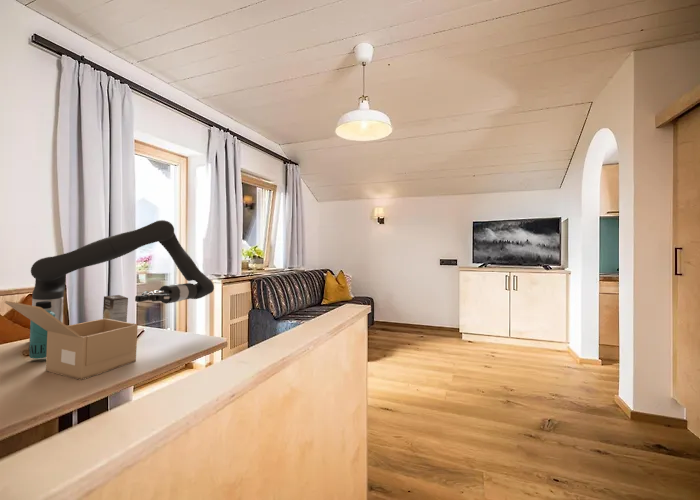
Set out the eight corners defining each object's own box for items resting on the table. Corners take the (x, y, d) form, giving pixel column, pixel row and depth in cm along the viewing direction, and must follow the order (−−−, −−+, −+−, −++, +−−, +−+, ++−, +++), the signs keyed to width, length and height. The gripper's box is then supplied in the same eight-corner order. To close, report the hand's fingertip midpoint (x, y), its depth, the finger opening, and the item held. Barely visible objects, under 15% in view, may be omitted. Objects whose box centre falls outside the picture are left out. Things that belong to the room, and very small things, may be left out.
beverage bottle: (53, 355, 120) (55, 299, 119) (54, 360, 115) (57, 302, 115) (27, 359, 115) (30, 300, 115) (28, 364, 111) (30, 304, 110)
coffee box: (101, 332, 149) (102, 296, 149) (117, 329, 155) (119, 294, 154) (110, 336, 145) (112, 299, 144) (127, 333, 150) (128, 297, 150)
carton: (44, 370, 107) (46, 329, 107) (103, 353, 125) (104, 318, 124) (81, 380, 102) (83, 337, 102) (137, 361, 119) (139, 324, 119)
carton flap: (47, 329, 106) (46, 330, 106) (5, 300, 96) (4, 302, 96) (81, 336, 102) (80, 337, 101) (41, 307, 91) (39, 308, 91)
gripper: (162, 282, 145) (124, 287, 129) (186, 286, 141) (150, 290, 125) (161, 300, 146) (123, 306, 129) (185, 303, 141) (149, 311, 125)
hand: (136, 298), depth 127 cm, fingers closed
